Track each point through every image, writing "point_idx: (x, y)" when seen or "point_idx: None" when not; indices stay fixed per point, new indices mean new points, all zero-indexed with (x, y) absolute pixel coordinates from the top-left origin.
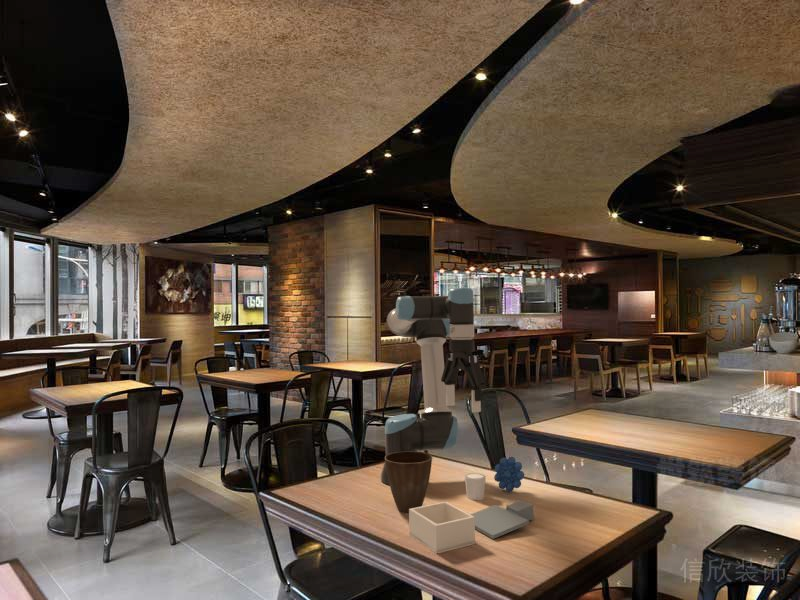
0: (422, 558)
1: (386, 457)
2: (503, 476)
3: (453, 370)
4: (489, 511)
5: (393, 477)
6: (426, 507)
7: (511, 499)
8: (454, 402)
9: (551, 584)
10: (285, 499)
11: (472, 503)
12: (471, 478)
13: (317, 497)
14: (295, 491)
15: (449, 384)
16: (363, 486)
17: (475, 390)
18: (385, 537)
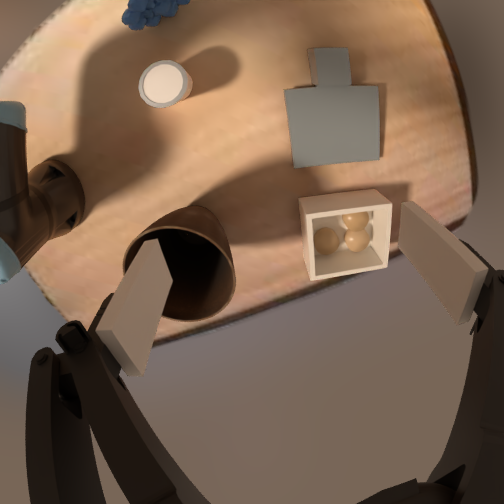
0: None
1: None
2: (153, 13)
3: (201, 497)
4: (304, 115)
5: (209, 293)
6: (313, 252)
7: (215, 25)
8: (153, 249)
9: (476, 172)
10: None
11: (207, 104)
12: (177, 98)
13: None
14: None
15: (113, 357)
16: (80, 262)
17: (478, 306)
18: (297, 286)
